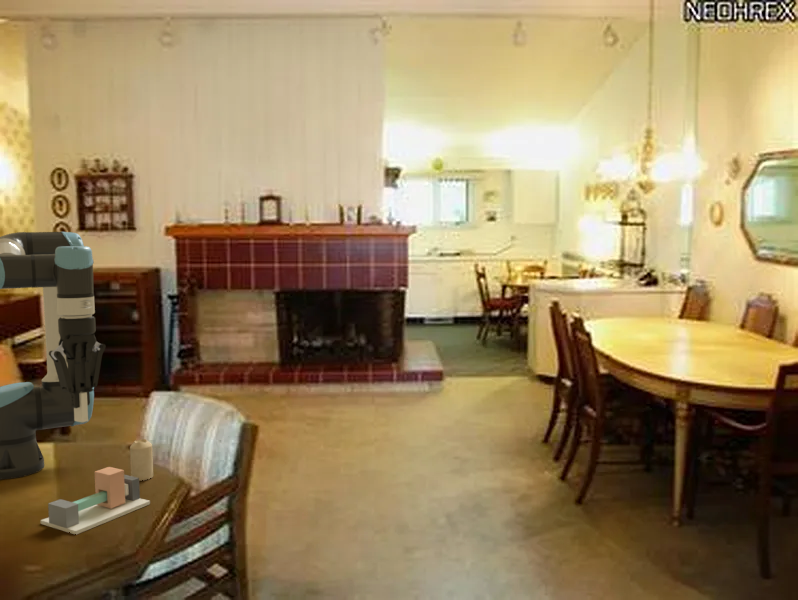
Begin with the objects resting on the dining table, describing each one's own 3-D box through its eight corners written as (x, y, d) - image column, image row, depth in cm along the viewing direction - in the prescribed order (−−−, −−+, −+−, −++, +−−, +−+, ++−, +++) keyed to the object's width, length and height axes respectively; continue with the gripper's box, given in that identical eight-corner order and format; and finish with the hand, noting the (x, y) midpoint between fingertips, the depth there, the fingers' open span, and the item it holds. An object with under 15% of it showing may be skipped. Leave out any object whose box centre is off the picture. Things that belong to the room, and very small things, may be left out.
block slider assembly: (40, 523, 160) (39, 498, 159) (115, 495, 177) (115, 472, 177) (75, 534, 154) (74, 508, 153) (150, 504, 171) (149, 480, 171)
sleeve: (95, 504, 168) (94, 471, 168) (110, 499, 172) (109, 466, 171) (110, 508, 166) (109, 475, 165) (125, 502, 169) (124, 470, 168)
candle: (148, 481, 187) (147, 443, 186) (127, 481, 187) (126, 443, 187) (156, 474, 193) (155, 437, 192) (135, 474, 193) (134, 437, 192)
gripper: (60, 320, 152) (66, 430, 154) (112, 314, 163) (116, 416, 165) (38, 318, 155) (43, 425, 157) (90, 312, 166) (95, 412, 169)
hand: (81, 420), depth 161 cm, fingers closed
